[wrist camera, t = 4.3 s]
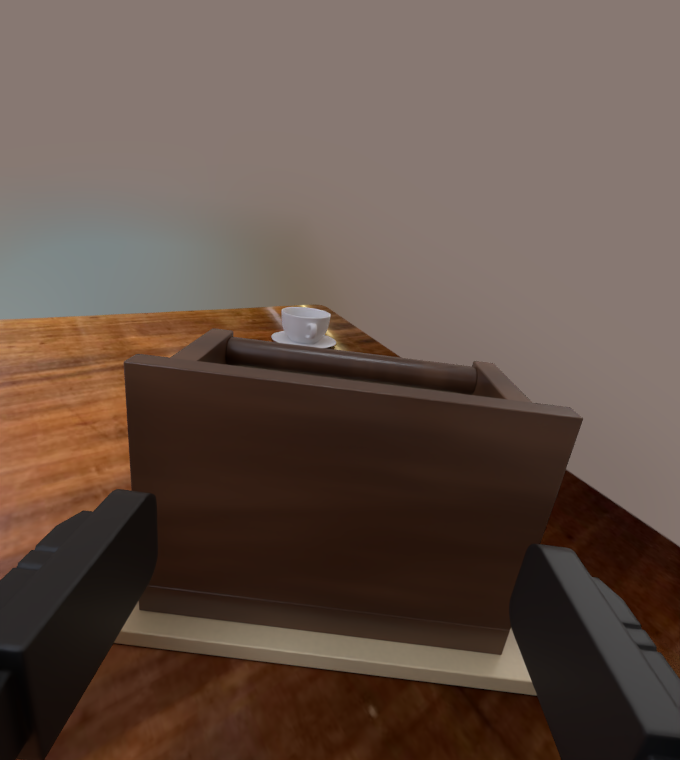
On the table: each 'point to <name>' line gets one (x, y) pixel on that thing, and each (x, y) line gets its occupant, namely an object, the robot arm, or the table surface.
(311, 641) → the board
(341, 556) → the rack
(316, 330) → the teacup
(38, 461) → the table surface
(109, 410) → the table surface
